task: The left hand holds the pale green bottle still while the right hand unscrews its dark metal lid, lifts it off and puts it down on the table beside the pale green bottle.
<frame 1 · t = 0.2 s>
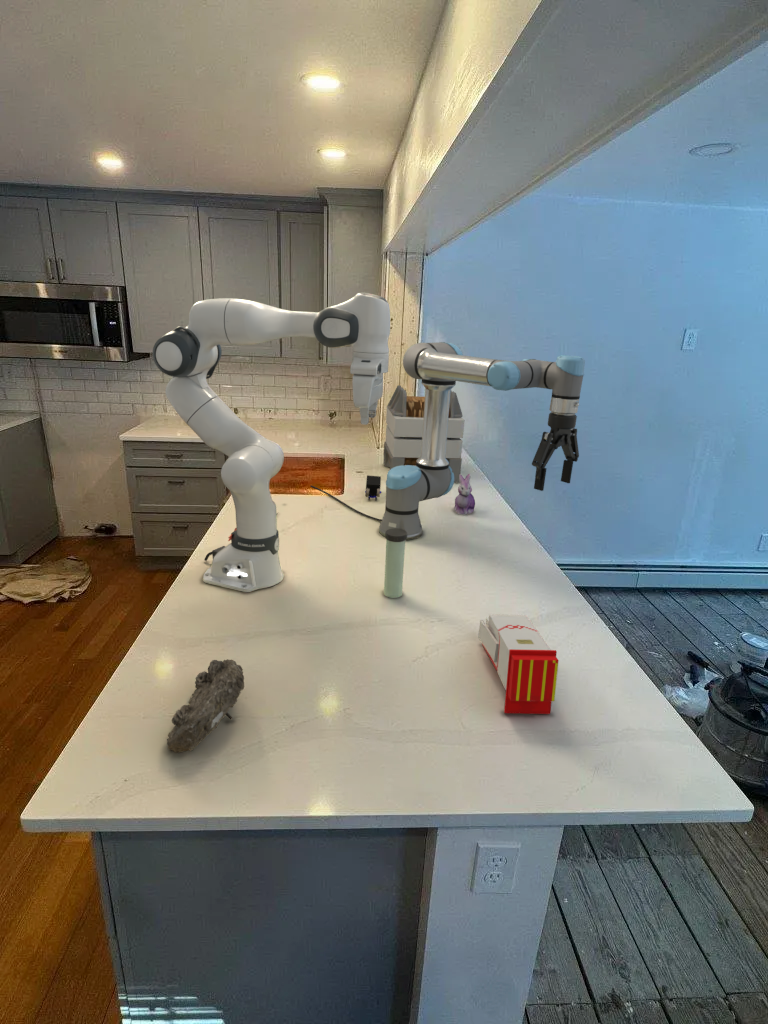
left hand: (368, 420, 143), 48 cm above the counter, tool pointing down, fingers open, 8 cm apart
right hand: (552, 485, 166), 28 cm above the counter, tool pointing down, fingers open, 13 cm apart
figurine character: (372, 497, 237), on the counter
toy: (510, 673, 125), on the counter
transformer: (419, 473, 275), on the counter
pale green bottle: (392, 593, 158), on the counter
figurine: (464, 511, 225), on the counter
fossil: (212, 717, 108), on the counter
lid: (396, 533, 152), point 18 cm above the counter, screwed on, not yet turned
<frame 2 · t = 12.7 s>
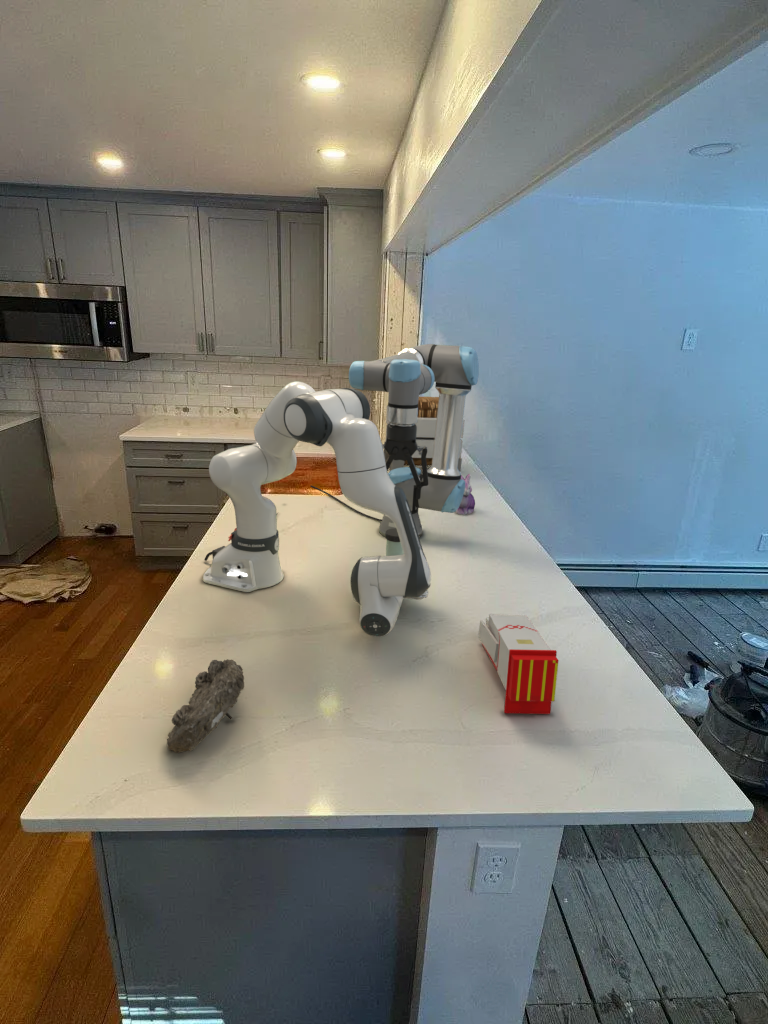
left hand: (394, 570, 157), 7 cm above the counter, tool horizontal, fingers closed on pale green bottle, 5 cm apart
right hand: (397, 509, 149), 25 cm above the counter, tool pointing down, fingers open, 8 cm apart
pale green bottle: (392, 593, 158), on the counter, touching left hand
everything else where it was.
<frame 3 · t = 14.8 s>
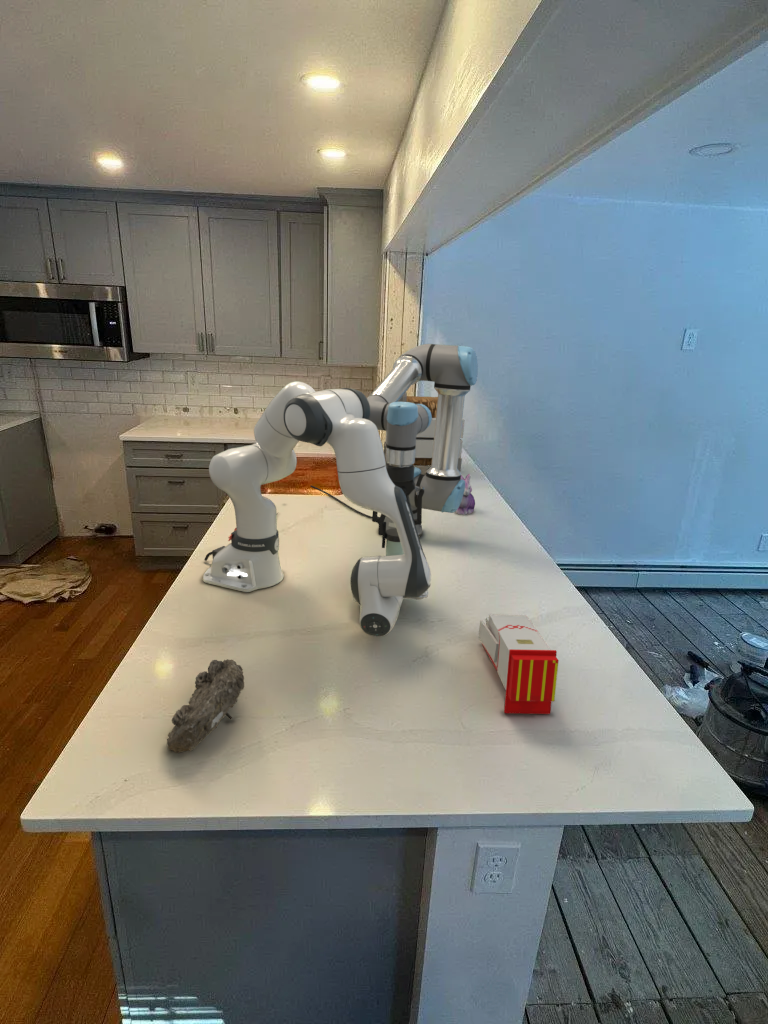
left hand: (394, 570, 157), 7 cm above the counter, tool horizontal, fingers closed on pale green bottle, 5 cm apart
right hand: (395, 546, 153), 14 cm above the counter, tool pointing down, fingers closed on lid, 6 cm apart
pale green bottle: (392, 593, 158), on the counter, touching left hand
lid: (396, 533, 152), point 18 cm above the counter, screwed on, not yet turned, touching right hand
everything else where it was.
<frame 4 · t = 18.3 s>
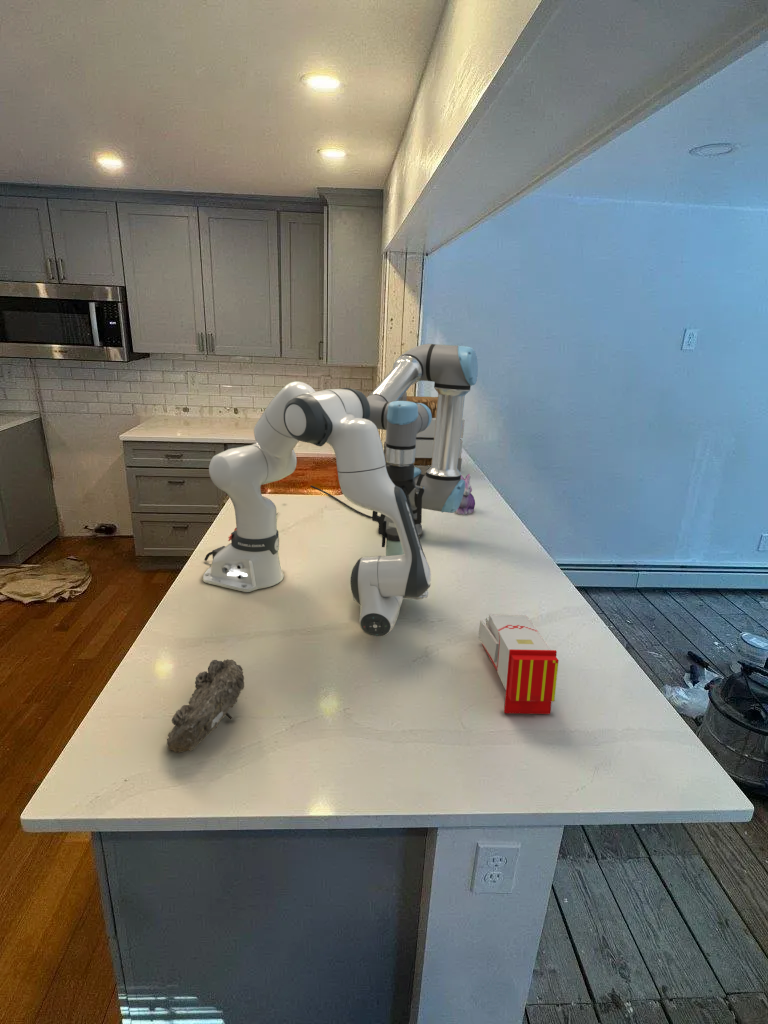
left hand: (394, 570, 157), 7 cm above the counter, tool horizontal, fingers closed on pale green bottle, 5 cm apart
right hand: (395, 545, 153), 14 cm above the counter, tool pointing down, fingers closed on lid, 6 cm apart
pale green bottle: (392, 593, 158), on the counter, touching left hand
lid: (396, 532, 152), point 18 cm above the counter, turned 131° so far, risen 0.2 cm, still on its thread, touching right hand
everything else where it was.
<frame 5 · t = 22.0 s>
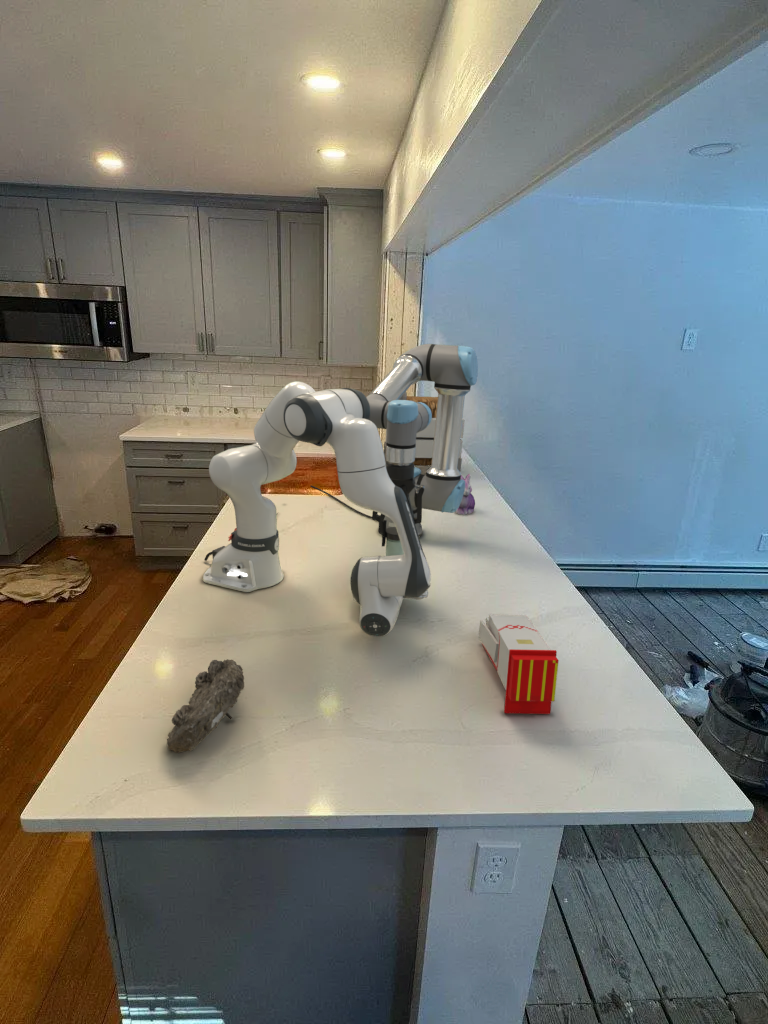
left hand: (394, 570, 157), 7 cm above the counter, tool horizontal, fingers closed on pale green bottle, 5 cm apart
right hand: (395, 545, 153), 15 cm above the counter, tool pointing down, fingers closed on lid, 6 cm apart
pale green bottle: (392, 593, 158), on the counter, touching left hand
lid: (396, 531, 152), point 19 cm above the counter, turned 263° so far, risen 0.4 cm, still on its thread, touching right hand
everything else where it was.
when the right hand's fingers open (0 cm above the counter, at t = 33.1 s): lid drops 3 cm, point 1 cm above the counter.
when the left hand's fingers open (7 cm above the counter, at t = 33.8 s): pale green bottle stays where it is, on the counter.
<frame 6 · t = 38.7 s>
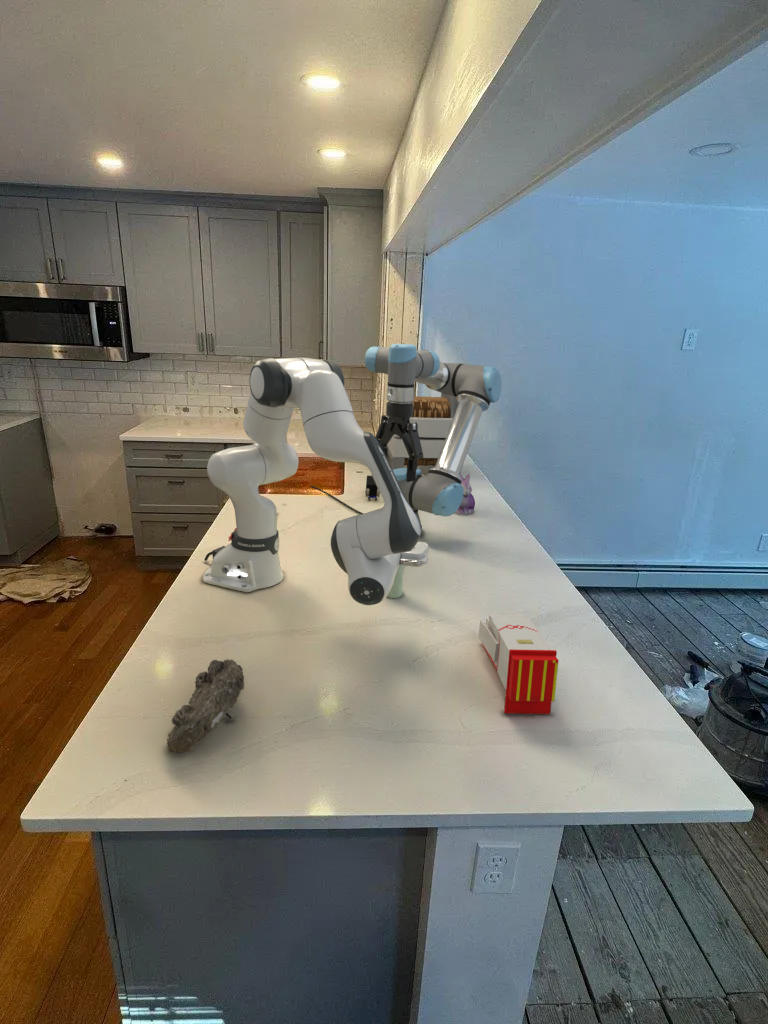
left hand: (389, 537, 140), 21 cm above the counter, tool horizontal, fingers open, 8 cm apart
right hand: (396, 475, 165), 29 cm above the counter, tool pointing down, fingers open, 13 cm apart
pale green bottle: (392, 593, 158), on the counter
lid: (391, 562, 174), point 1 cm above the counter, off its thread
everything else where it was.
at the end: lid came off its thread; lid point 1.3 cm above the counter; the left hand is holding nothing; the right hand is holding nothing; pale green bottle tilted 0°; pale green bottle moved 0.0 cm from its start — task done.
